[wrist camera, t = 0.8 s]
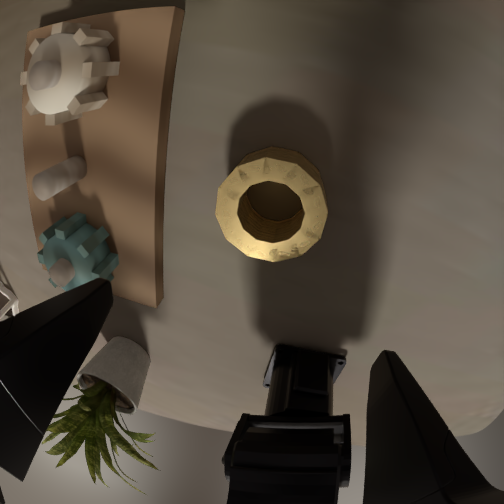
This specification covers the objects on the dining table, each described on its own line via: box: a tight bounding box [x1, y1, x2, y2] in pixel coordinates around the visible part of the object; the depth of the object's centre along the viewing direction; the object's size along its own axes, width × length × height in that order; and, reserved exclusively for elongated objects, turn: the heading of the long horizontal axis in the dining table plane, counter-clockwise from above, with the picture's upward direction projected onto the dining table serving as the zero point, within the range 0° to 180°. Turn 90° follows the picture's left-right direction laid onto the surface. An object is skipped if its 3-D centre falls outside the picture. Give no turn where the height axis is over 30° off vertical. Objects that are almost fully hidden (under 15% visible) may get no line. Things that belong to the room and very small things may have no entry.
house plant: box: [42, 336, 158, 494], centre depth 25 cm, size 14×14×16 cm
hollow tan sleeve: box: [215, 146, 328, 262], centre depth 18 cm, size 6×6×3 cm
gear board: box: [20, 6, 185, 308], centre depth 18 cm, size 22×13×6 cm, turn 171°
